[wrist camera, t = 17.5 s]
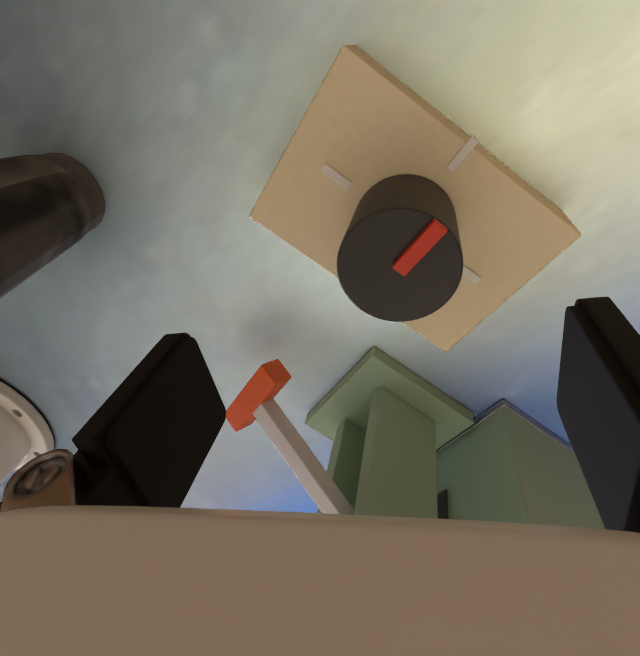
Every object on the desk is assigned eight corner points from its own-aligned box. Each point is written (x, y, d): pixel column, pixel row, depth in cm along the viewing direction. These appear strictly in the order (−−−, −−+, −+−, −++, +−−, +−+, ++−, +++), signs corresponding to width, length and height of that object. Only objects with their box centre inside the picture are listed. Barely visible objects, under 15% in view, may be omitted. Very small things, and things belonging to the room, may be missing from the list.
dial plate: (265, 202, 22) (244, 222, 20) (358, 37, 18) (347, 35, 15) (440, 325, 24) (442, 358, 22) (568, 206, 19) (590, 230, 17)
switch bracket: (308, 413, 31) (253, 581, 21) (374, 346, 26) (343, 520, 16) (395, 467, 32) (382, 649, 22) (473, 412, 27) (498, 610, 18)
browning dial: (409, 288, 20) (405, 346, 16) (334, 233, 19) (311, 280, 15) (478, 216, 18) (493, 265, 14) (396, 150, 17) (387, 182, 13)
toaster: (382, 482, 33) (357, 740, 21) (502, 398, 26) (570, 708, 14) (472, 537, 34) (498, 808, 22) (608, 470, 28) (754, 810, 15)
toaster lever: (245, 403, 26) (215, 417, 24) (284, 355, 23) (253, 366, 21) (370, 581, 23) (346, 613, 21) (433, 549, 20) (411, 583, 18)
